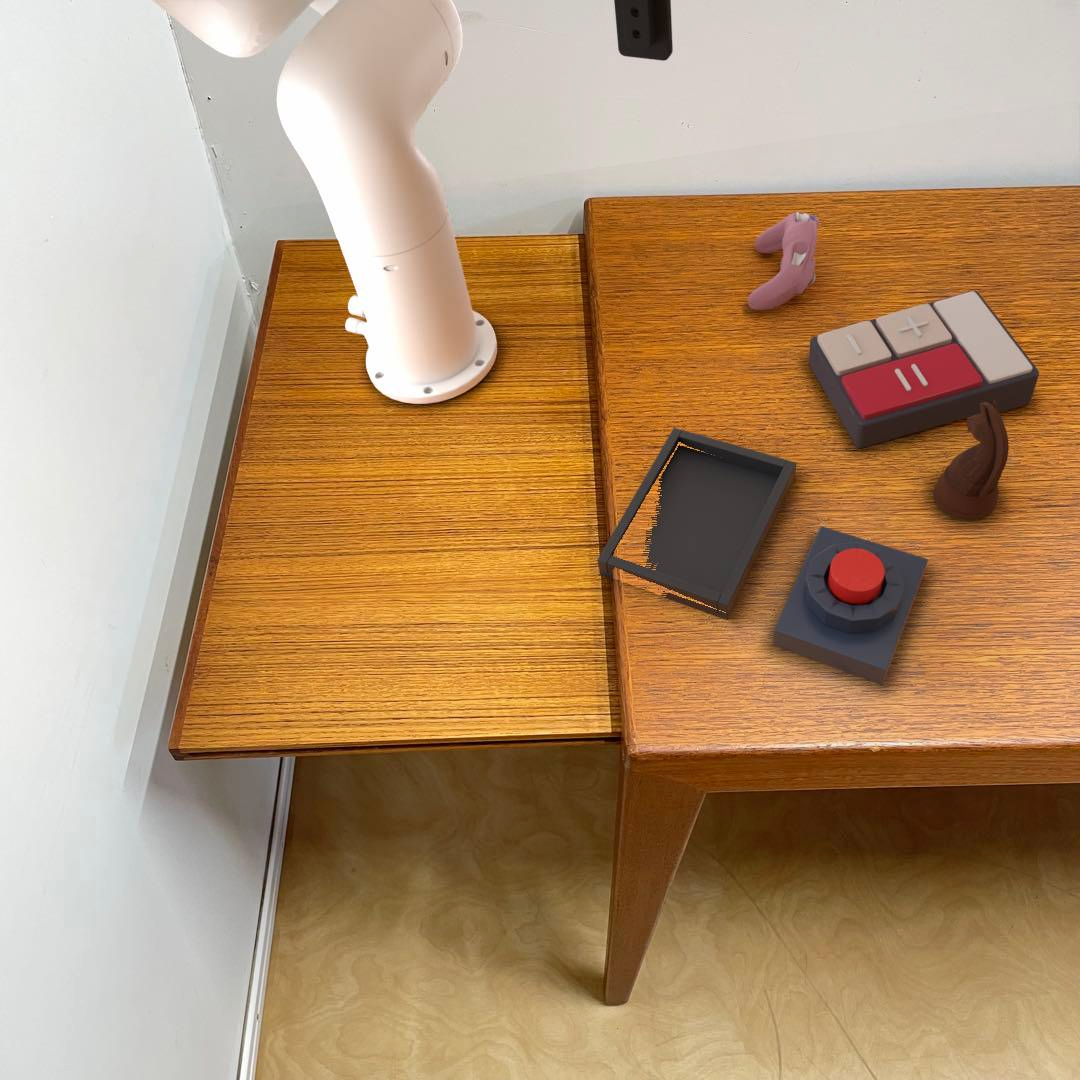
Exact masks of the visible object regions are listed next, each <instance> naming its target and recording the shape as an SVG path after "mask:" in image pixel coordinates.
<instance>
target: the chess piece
mask: <svg viewBox="0 0 1080 1080" xmlns="http://www.w3.org/2000/svg"><path fill="white" fill-rule="evenodd" d="M980 408H981V414H978V415H975V416H971V417H967V418H966V428H967V431H968V432H970V434H971V435H972V436H973V438H974V439H975V440H976V441H978V442H979V443H977V444H975V445H973V446H971V447H969V448H966V449H965V450H963V451H962V452H960V453H959V454H957V456H955V457H954V458H953V459H952V461H951V462H950V463H949V464H948V465H947V467H946V468H945V469H944V471H943V472H942V473H941V474H940V476H939V477H938V479H937V482H936V483H935V485H934V488H933V493H932V494H933V500H934V503H935V505H936V507H937V508H938V510H939V511H941V512H942V513H943V514H944V515H946V516H947V517H949V518H952V519H954V520H957V521H962V522H975V521H979V520H982V519H984V518H986V517H988V516H990V515H991V514H992V513H993V511H995V507H996V505H997V502H998V497H999V491H1000V490H999V486H998V485H999V481H1000V478H1001V477H1002V475H1003V471H1004V469H1005V468H1006V465H1007V462H1008V458H1009V450H1010V449H1009V446H1010V445H1009V435H1008V432H1007V429H1006V426H1005V423H1004V420H1003V418H1002V415H1001V414H1000V413H999V411H998V407H997V403H996V400H994V401H993V406H992V405H991V404H990V403H987V402H983V403H980Z"/></svg>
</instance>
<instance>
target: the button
mask: <svg viewBox="0 0 1080 1080" xmlns="http://www.w3.org/2000/svg"><path fill="white" fill-rule="evenodd" d="M884 574H885V570H884V566H883V564H882V562H881V561H880V559H879V558H878V557H877V556H876V555H874V554H873V553H871V552H869V551H867V550H863V549H847V550H844V551H842V552H840V553H839V554H837V555H836V556H835V557H834V559H833V560H832V562H831V566H830V572H829V577H828V585H829V588H830V590H831V592H832V593H833V594H834V596H836V597H837V598H838V599H839V600H841V601H843V602H846V603H849V604H856V605H858V604H865V603H868V602H870V601H872V600H873V599H875V598H876V597H877V596H878V594H879V592H880V590H881V586H882V582H883V579H884Z"/></svg>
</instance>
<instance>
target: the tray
mask: <svg viewBox="0 0 1080 1080" xmlns="http://www.w3.org/2000/svg"><path fill="white" fill-rule="evenodd" d="M678 442H681V443H683V444H685V445H687V446H689V447H692V448H694V449H698V450H700V451H697V450H694V449H690V448H687V447H684V446H680V445H679V446H678V448H677V450H676V451H675V453H674V455H673V457H672V458H671V460H670V462H669V464H668V465H667V467H666V469H665V471H664V472H663V474H662V476H661V478H662V479H659V481H662V482H659V483H660V484H661V485H660V486H658V487H661V489H658V490H662V491H657V492H660V494H658V495H662V496H659V498H660V499H659V501H660V502H658V503H660V504H659V505H656V506H661V507H656V508H661V509H656V510H655V511H659V512H656V513H660V514H657V515H655V516H657V517H651V518H657V519H652V520H656V521H657V522H652V523H657V524H652V525H657V526H652V527H653V528H652V529H650V530H652V531H646V532H652V533H646V534H652V535H646V536H650V537H646V538H647V539H646V540H645V541H651V542H645V543H652V544H645V545H649V546H650V547H649V546H646V547H647V548H650V549H645V550H650V551H643V552H649V553H643V554H649V555H642V556H648V558H649V559H647V562H646V563H652V564H646V565H651V566H645V567H643V566H640V565H637V564H635V563H632V562H629V561H626V560H623V559H620V558H617V557H614V556H613V554H614V551H615V549H616V547H617V545H618V543H619V542H620V540H621V539H622V537H623V535H624V534H625V532H626V530H627V529H628V527H629V525H630V523H631V522H632V520H633V518H634V517H635V515H636V513H637V511H638V509H639V508H640V506H641V504H642V502H643V501H644V499H645V497H646V495H647V494H648V493H649V491H650V489H651V487H652V485H653V484H654V483H655V481H656V479H657V478H658V476H659V474H660V473H661V471H662V470H663V468H664V466H665V464H666V463H667V461H668V460H669V458H670V456H671V455H672V453H673V452H674V450H675V448H676V446H677V444H678ZM701 451H704V452H706V453H704V452H701ZM707 453H708V454H707ZM711 454H712V455H711ZM714 455H715V456H714ZM721 457H722V458H721ZM796 472H797V462H795V461H792V460H788V459H785V458H782V457H778V456H775V455H771V454H769V453H764V452H760V451H757V450H754V449H750V448H747V447H742V446H741V445H736V444H733V443H729V442H726V441H722V440H718V439H715V438H712V437H709V436H705V435H703V434H698V433H695V432H692V431H689V430H684V429H681V428H677V427H673V428H672V430H671V432H670V433H669V435H668V437H667V439H666V440H665V442H664V444H663V445H662V447H661V449H660V451H659V452H658V454H657V456H656V458H655V459H654V461H653V463H652V465H651V466H650V468H649V470H648V471H647V473H646V475H645V476H644V479H643V480H642V482H641V483H640V485H639V486H638V488H637V490H636V492H635V494H634V495H633V497H632V499H631V501H630V502H629V504H628V506H627V508H626V509H625V511H624V513H623V514H622V516H621V518H620V520H619V522H618V523H617V525H618V526H617V525H616V526H615V528H614V530H613V532H612V534H611V536H610V537H609V539H608V540H607V542H606V544H605V546H604V547H603V549H602V551H601V552H600V553H599V556H598V558H597V565H598V573H599V575H600V576H602V577H606V578H607V579H611V580H614V579H613V573H612V570H613V569H614V568H615V567H616V568H617V567H618V568H619V569H622V570H623V571H625V572H628V573H630V574H633V575H635V576H637V577H640V578H642V579H646V580H647V581H649V582H653V583H656V584H658V585H660V586H663V587H665V588H667V589H669V590H673V591H675V592H678V593H679V594H682V595H684V596H686V597H690V598H692V599H694V600H697V601H700V602H702V603H704V604H706V605H708V606H711V607H713V608H716V609H717V610H716V609H713V608H710V607H708V606H705V605H702V604H699V603H696V602H694V601H691V600H688V599H685V598H682V597H679V596H677V595H674V594H671V593H662V594H667V595H661V596H666V597H663V598H664V599H665V600H666V599H667V600H669V601H672V602H675V603H678V604H680V605H682V606H686V607H689V608H692V609H694V610H697V611H699V612H703V613H705V614H708V615H711V616H713V617H717V618H718V619H719V618H720V619H721V620H725V621H728V620H729V618H730V616H731V614H732V612H733V610H734V608H735V606H736V603H737V601H738V600H739V598H740V595H741V593H742V590H743V589H744V587H745V585H746V582H747V580H748V578H749V576H750V574H751V572H752V570H753V568H754V566H755V564H756V562H757V560H758V557H759V556H760V554H761V551H762V549H763V547H764V545H765V543H766V541H767V538H768V536H769V534H770V533H771V530H772V528H773V526H774V523H775V522H776V520H777V517H778V516H779V513H780V512H781V509H782V507H783V505H784V503H785V501H786V499H787V497H788V494H789V493H790V490H791V489H792V486H793V485H794V482H795V480H796ZM655 503H656V502H655ZM648 525H649V524H648ZM648 539H651V540H648ZM652 561H653V562H652ZM657 563H658V564H657ZM654 565H657V566H654ZM646 567H651V568H646ZM653 567H656V568H653ZM652 569H656V570H652ZM658 590H659V589H658ZM663 592H665V591H663ZM661 596H660V597H661ZM719 610H721V611H719ZM722 611H724V612H726V613H724V612H722Z"/></svg>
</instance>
